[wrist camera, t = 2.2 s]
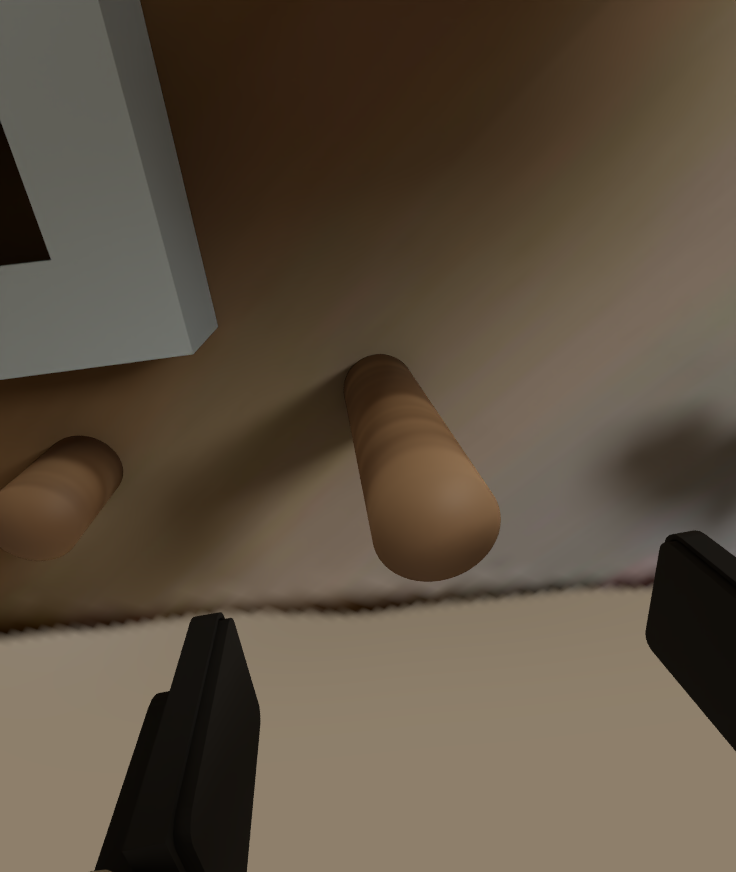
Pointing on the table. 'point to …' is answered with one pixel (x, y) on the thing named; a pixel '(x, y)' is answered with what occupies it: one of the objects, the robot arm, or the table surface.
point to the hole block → (95, 195)
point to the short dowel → (57, 498)
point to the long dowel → (415, 477)
